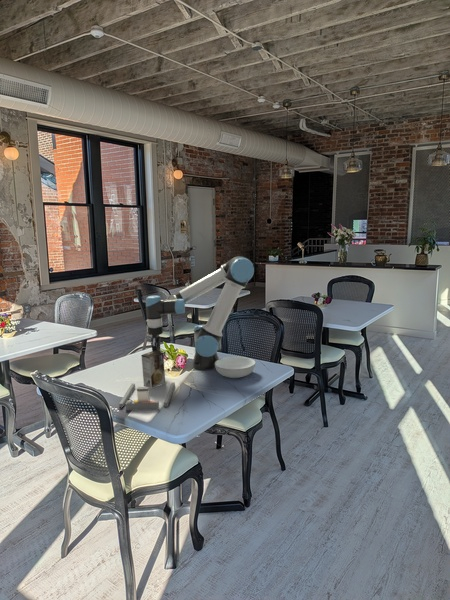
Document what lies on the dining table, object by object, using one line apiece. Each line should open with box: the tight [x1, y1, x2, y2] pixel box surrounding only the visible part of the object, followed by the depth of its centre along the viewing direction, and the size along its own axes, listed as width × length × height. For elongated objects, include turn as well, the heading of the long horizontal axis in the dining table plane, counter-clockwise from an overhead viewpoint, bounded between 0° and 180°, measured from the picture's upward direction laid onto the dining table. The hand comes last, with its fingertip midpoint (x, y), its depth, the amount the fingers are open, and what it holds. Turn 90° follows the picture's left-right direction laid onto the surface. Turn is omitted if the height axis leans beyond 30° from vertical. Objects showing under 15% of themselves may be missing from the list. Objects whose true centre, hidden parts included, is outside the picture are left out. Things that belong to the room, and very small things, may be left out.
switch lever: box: [136, 386, 151, 402], centre depth 192 cm, size 5×4×8 cm
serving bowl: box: [215, 356, 256, 379], centre depth 226 cm, size 21×21×7 cm
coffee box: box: [141, 350, 166, 389], centre depth 216 cm, size 9×6×16 cm
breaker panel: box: [118, 382, 176, 411], centre depth 201 cm, size 21×26×4 cm
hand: (157, 370), depth 227 cm, fingers closed
